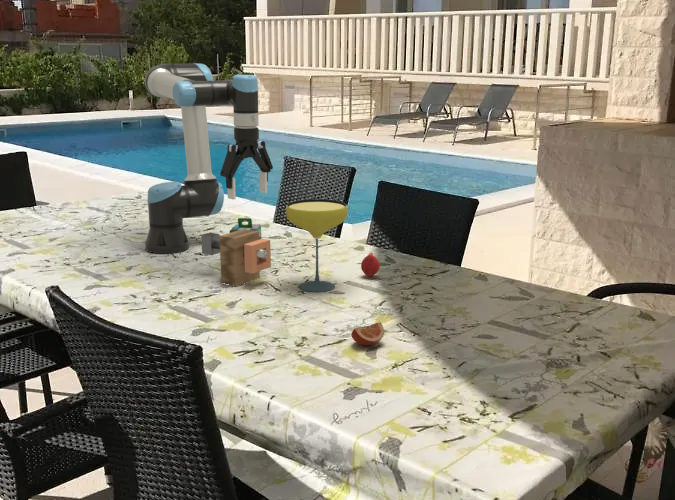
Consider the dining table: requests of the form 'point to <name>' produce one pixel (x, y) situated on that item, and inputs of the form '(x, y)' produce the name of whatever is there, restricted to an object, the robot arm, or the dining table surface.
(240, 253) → the bearing block
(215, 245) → the shaft
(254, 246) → the orange boxy part
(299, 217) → the cocktail glass
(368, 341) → the fruit slice
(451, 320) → the dining table surface
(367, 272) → the onion
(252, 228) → the chalk box
